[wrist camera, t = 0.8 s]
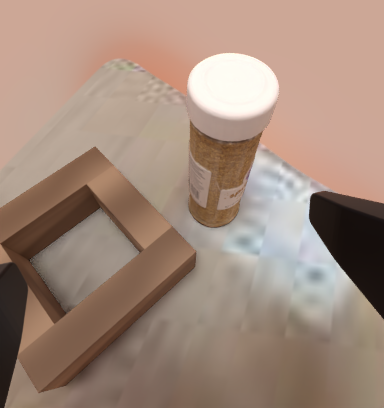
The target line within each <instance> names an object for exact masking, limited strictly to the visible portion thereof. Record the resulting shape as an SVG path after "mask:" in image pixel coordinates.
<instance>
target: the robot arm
mask: <svg viewBox="0 0 384 408" xmlns="http://www.w3.org/2000/svg"><path fill="white" fill-rule="evenodd" d="M309 219H310V222H311V224H312V226H313V227H314V229H315V230H316V232H317V233H318V235H319V236H320V238H321V240H322V241H323V243H324V244H325V246H326V247H327V249H328V250H329V252H330V253H331V255H332V256H333V258H334V259H335V260H336V262H337V263H338V264H339V265H340V267H341V268H342V269H343V270H344V272H345V273H346V274H347V275H348V276H349V278H350V279H351V280H352V281H353V283H354V284H355V285H356V286H357V287H358V289H359V290H360V291H361V292H362V293H363V295H364V296H365V297H366V298H367V300H368V301H369V302H370V303H371V304H372V306H373V307H374V308H375V309H376V311H377V312H378V313H379V314H380V315H381V317H382V318H383V319H384V204H383V203H379V202H374V201H369V200H365V199H360V198H355V197H351V196H346V195H342V194H337V193H332V192H328V191H321V192H317V193H313V194H312V195H311V197H310V209H309ZM27 296H28V285H27V282H26V280H25V279H24V277H23V275H22V273H21V271H20V269H19V268H18V266H17V264H16V263H14V262H8V263H3V264H0V408H4V407H5V403H6V399H7V395H8V391H9V387H10V383H11V379H12V375H13V372H14V368H15V364H16V360H17V356H18V352H19V348H20V344H21V339H22V333H23V326H24V318H25V311H26V303H27Z"/></svg>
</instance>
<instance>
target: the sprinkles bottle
mask: <svg viewBox="0 0 384 408" xmlns="http://www.w3.org/2000/svg"><path fill="white" fill-rule="evenodd" d="M278 96H279V84H278V81H277V78H276V76H275V74H274V73H273V71H272V70H271V69H270V68H269V67H268V66H267V65H265V64H264V63H263V62H261V61H260V60H258V59H256V58H253V57H251V56H247V55H243V54H236V53H224V54H218V55H214V56H211V57H209V58H206V59H204V60H203V61H201V62H200V63H199V64H197V65H196V66H195V67H194V69H193V70H192V72H191V73H190V76H189V78H188V83H187V112H188V116H189V118H190V140H189V191H190V195H189V200H188V201H189V202H188V205H189V210H190V212H191V214H192V216H193V217H194V218H195V219H196V220H197V221H198V222H200V223H201V224H204V225H206V226H209V227H219V226H222V225H225V224H227V223H229V222H230V221H232V220H233V219H234V217H235V216H236V214H237V213H238V209H239V202H240V200H241V197H242V195H243V193H244V190H245V186H246V183H247V180H248V177H249V174H250V171H251V168H252V165H253V162H254V159H255V153H256V150H257V147H258V144H259V141H260V137H261V135H262V132H263V130H264V129H265V128H266V127H267V126H268V124H269V122H270V120H271V117H272V115H273V112H274V109H275V106H276V103H277V99H278Z"/></svg>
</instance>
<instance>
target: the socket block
mask: <svg viewBox="0 0 384 408" xmlns="http://www.w3.org/2000/svg"><path fill="white" fill-rule="evenodd" d="M100 207H101V208H102V209H103V211H104V212H105V213H106V214H107V215H108V216H109V217H110V219H111V220H112V221H113V222H114V223H115V224H116V225H117V227H118V228H119V229H120V230H121V231H122V232H123V233H124V235H125V236H126V237H127V238H128V239H129V240H130V241H131V243H132V244H133V245H134V246H135V247H136V248H137V249H138V251H139V252H140V254H138V255H137V256H136V257H135V258H134V259H132V260H131V261H130V262H129V263H128V264H126V265H125V266H124V267H123V268H121V269H120V270H119V271H118V272H117V273H115V274H114V275H113V276H112V277H111V278H109V279H108V280H107V281H106V282H105V283H103V284H102V285H101V286H100V287H99V288H97V289H96V290H95V291H94V292H93V293H91V294H90V295H89V296H88V297H87V298H85V299H84V300H83V301H82V302H81V303H79V304H78V305H77V306H76V307H75V308H73V309H72V310H71V311H70V312H69V313H67V314H66V313H65V312H64V310H63V309H62V307H61V306H60V305H59V303H58V302H57V300H56V299H55V297H54V296H53V295H52V293H51V292H50V290H49V289H48V287H47V286H46V284H45V283H44V282H43V280H42V279H41V277H40V276H39V274H38V273H37V272H36V270H35V269H34V267H33V266H32V264H31V263H30V261H29V259H30V258H32V257H33V256H34V255H36V254H37V253H38V252H40V251H41V250H42V249H44V248H45V247H47V246H48V245H49V244H51V243H52V242H53V241H55V240H56V239H58V238H59V237H60V236H62V235H63V234H64V233H66V232H67V231H68V230H70V229H71V228H73V227H74V226H75V225H77V224H78V223H79V222H81V221H82V220H84V219H85V218H86V217H88V216H89V215H90V214H92V213H93V212H94V211H96V210H97V209H99V208H100ZM195 261H196V251H195V250H194V249H193V248H192V247H191V246H190V245H189V244H188V242H187V241H186V240H185V239H184V238H183V237H182V236H181V235H180V234H179V233H178V232H177V231H176V230H175V229H174V228H173V227H172V226H171V225H170V224H169V223H168V222H167V221H166V220H165V219H164V218H163V216H162V215H161V214H160V213H159V212H158V211H157V210H156V209H155V208H154V207H153V206H152V205H151V204H150V203H149V202H148V201H147V200H146V199H145V198H144V197H143V196H142V195H141V194H140V193H139V191H138V190H137V189H136V188H135V187H134V186H133V185H132V184H131V183H130V182H129V181H128V180H127V179H126V178H125V177H124V176H123V175H122V174H121V173H120V172H119V171H118V170H117V169H116V168H115V167H114V165H113V164H112V163H111V162H110V161H109V160H108V159H107V158H106V157H105V156H104V155H103V154H102V153H101V152H100V151H99V150H98V149H97V148H96V147H93V148H92V149H90V150H89V151H87V152H86V153H84V154H83V155H81V156H80V157H78V158H76V159H75V160H73V161H72V162H70V163H69V164H67V165H66V166H64V167H63V168H61V169H60V170H58V171H56V172H55V173H53V174H52V175H50V176H49V177H47V178H46V179H44V180H43V181H41V182H40V183H38V184H36V185H35V186H33V187H32V188H30V189H29V190H27V191H26V192H24V193H23V194H21V195H20V196H18V197H16V198H15V199H13V200H12V201H10V202H9V203H7V204H6V205H4V206H3V207H1V208H0V264H3V263H8V262H14V263H16V264H17V266H18V268H19V269H20V271H21V273H22V275H23V277H24V279H25V280H26V282H27V285H28V296H27V303H26V311H25V318H24V326H23V333H22V339H21V344H20V348H19V352H18V356H17V358H18V359H19V361H20V363H21V364H22V366H23V368H24V369H25V371H26V373H27V374H28V376H29V378H30V380H31V381H32V383H33V385H34V386H35V388H36V390H37V391H38V393H40V392H44V391H48V390H51V389H55V388H58V387H62V386H65V385H67V384H68V383H69V382H70V381H71V380H72V379H73V378H74V377H75V376H76V375H77V374H78V373H80V372H81V371H82V370H83V369H84V368H85V367H86V366H87V365H88V364H89V363H90V362H92V361H93V360H94V359H95V358H96V357H97V356H98V355H99V354H100V353H101V352H102V351H104V350H105V349H106V348H107V347H108V346H109V345H110V344H111V343H112V342H113V341H114V340H116V339H117V338H118V337H119V336H120V335H121V334H122V333H123V332H124V331H125V330H126V329H128V328H129V327H130V326H131V325H132V324H133V323H134V322H135V321H136V320H137V319H138V318H140V317H141V316H142V315H143V314H144V313H145V312H146V311H147V310H148V309H149V308H150V307H152V306H153V305H154V304H155V303H156V302H157V301H158V300H159V299H160V298H161V297H162V296H164V295H165V294H166V293H167V292H168V291H169V290H170V289H171V288H172V287H173V286H174V285H176V284H177V283H178V282H179V281H180V280H181V279H182V278H183V277H184V276H185V275H186V274H188V273H189V272H190V271H191V270H192V269H193V268H194V267H195Z"/></svg>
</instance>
